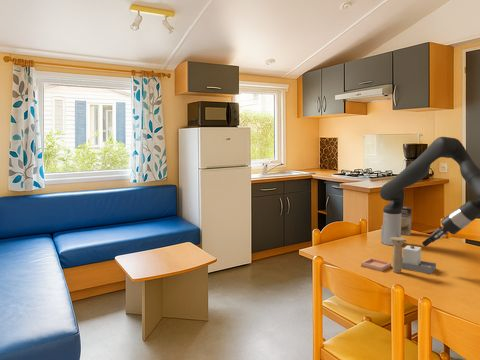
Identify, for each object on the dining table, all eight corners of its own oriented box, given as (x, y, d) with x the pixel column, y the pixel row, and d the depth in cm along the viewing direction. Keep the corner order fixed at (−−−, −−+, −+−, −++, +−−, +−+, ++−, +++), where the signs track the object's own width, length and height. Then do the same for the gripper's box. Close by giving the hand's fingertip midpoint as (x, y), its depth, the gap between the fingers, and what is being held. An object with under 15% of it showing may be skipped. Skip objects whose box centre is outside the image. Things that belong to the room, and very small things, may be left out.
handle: (388, 269, 173) (389, 236, 171) (404, 270, 171) (405, 237, 169) (389, 273, 168) (390, 239, 166) (405, 274, 166) (406, 240, 165)
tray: (361, 266, 178) (361, 262, 177) (370, 261, 184) (370, 257, 184) (381, 271, 170) (381, 267, 170) (391, 266, 176) (391, 262, 176)
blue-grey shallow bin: (396, 267, 175) (396, 261, 175) (401, 262, 182) (402, 257, 181) (431, 273, 166) (431, 268, 166) (435, 268, 173) (435, 263, 172)
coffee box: (394, 234, 233) (394, 207, 231) (394, 231, 239) (395, 205, 237) (410, 235, 229) (411, 208, 227) (410, 232, 235) (411, 206, 233)
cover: (402, 263, 174) (403, 246, 173) (406, 259, 179) (407, 243, 178) (416, 266, 171) (417, 249, 170) (420, 262, 176) (421, 245, 175)
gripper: (452, 211, 168) (421, 234, 177) (446, 216, 157) (413, 241, 166) (466, 224, 165) (433, 247, 174) (460, 231, 155) (426, 255, 164)
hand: (423, 244), depth 170 cm, fingers closed
